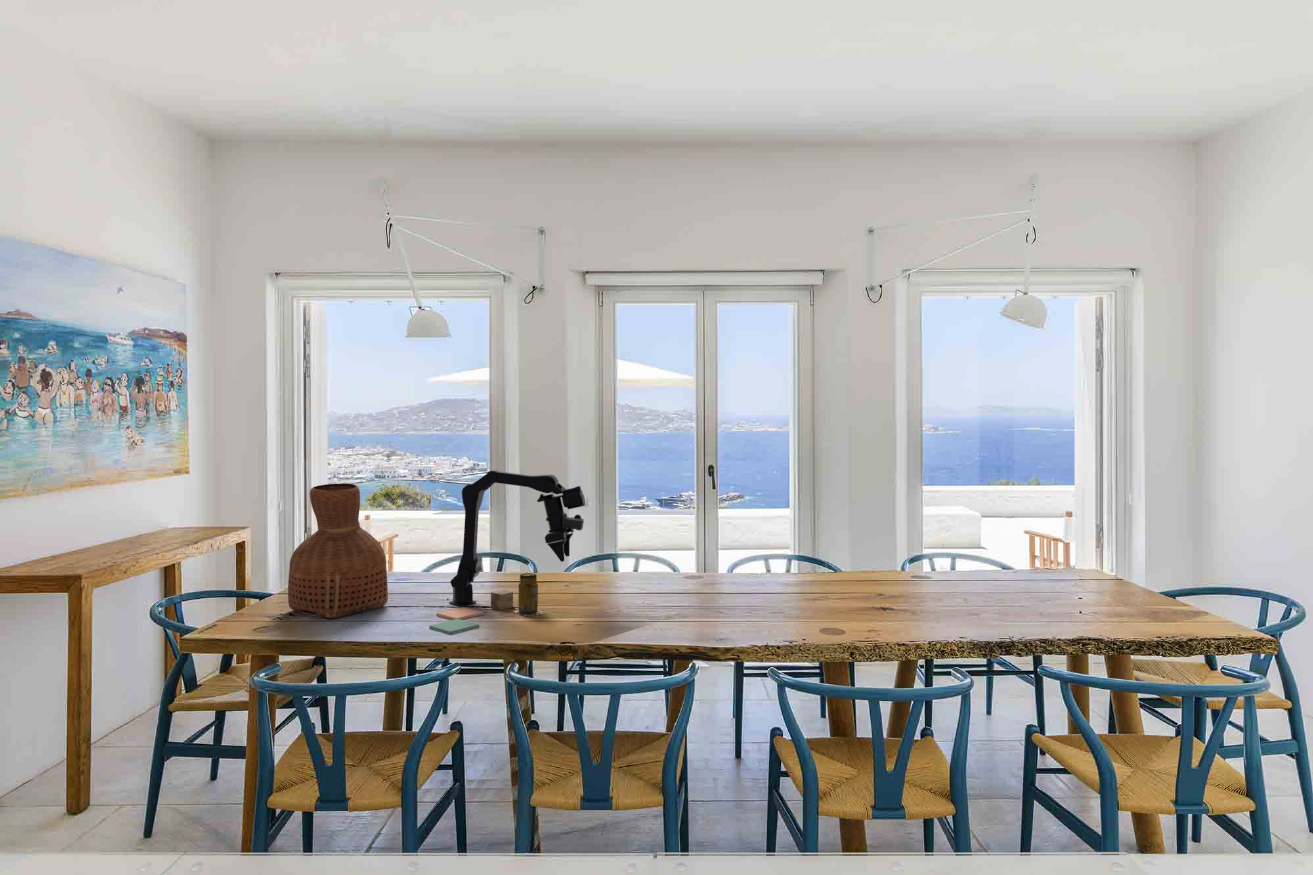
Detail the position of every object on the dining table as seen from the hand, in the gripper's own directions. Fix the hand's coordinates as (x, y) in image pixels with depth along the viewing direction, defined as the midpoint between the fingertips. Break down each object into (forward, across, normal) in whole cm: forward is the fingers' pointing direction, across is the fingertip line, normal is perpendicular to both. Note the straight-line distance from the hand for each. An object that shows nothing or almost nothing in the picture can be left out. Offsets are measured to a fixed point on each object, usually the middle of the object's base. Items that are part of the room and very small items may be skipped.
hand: (565, 558), depth 251 cm
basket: (-1, -11, +73) cm, 74 cm away
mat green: (+9, -31, +30) cm, 44 cm away
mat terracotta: (+8, -16, +33) cm, 37 cm away
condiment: (+13, -11, +13) cm, 21 cm away
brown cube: (+10, -5, +23) cm, 26 cm away
